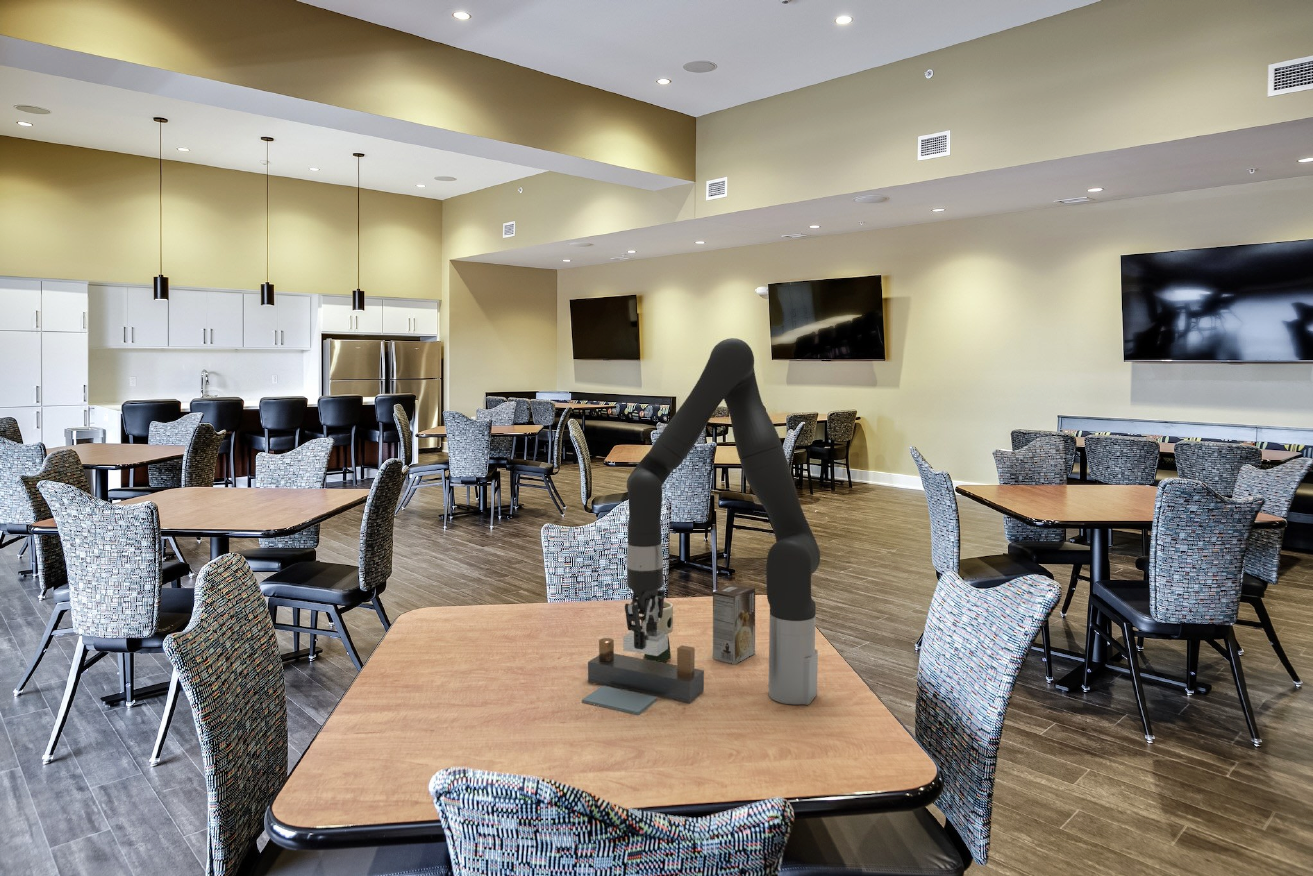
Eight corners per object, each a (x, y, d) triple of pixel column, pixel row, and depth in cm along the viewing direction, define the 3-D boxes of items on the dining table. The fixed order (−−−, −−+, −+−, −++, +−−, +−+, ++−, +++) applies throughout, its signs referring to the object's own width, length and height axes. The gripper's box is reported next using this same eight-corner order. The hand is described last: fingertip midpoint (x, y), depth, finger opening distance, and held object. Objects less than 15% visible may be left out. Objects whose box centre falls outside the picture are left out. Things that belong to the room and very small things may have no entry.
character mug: (672, 668, 181) (673, 611, 180) (641, 668, 181) (641, 611, 180) (672, 651, 192) (672, 598, 191) (642, 651, 192) (642, 597, 191)
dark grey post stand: (703, 691, 168) (704, 644, 167) (689, 703, 162) (689, 655, 161) (604, 671, 179) (604, 627, 178) (588, 682, 173) (587, 636, 172)
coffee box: (732, 648, 194) (733, 583, 193) (755, 654, 190) (756, 587, 189) (711, 659, 187) (712, 591, 185) (735, 665, 183) (735, 596, 181)
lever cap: (668, 648, 170) (667, 630, 169) (657, 656, 165) (657, 637, 165) (634, 643, 173) (634, 625, 173) (623, 650, 169) (623, 632, 168)
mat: (657, 700, 163) (657, 697, 163) (638, 715, 156) (638, 712, 156) (602, 688, 169) (602, 685, 169) (581, 702, 162) (581, 699, 162)
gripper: (645, 574, 160) (645, 658, 161) (675, 559, 172) (676, 637, 174) (612, 570, 163) (613, 652, 164) (644, 556, 176) (645, 632, 177)
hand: (645, 644), depth 169 cm, fingers closed on lever cap, 5 cm apart
